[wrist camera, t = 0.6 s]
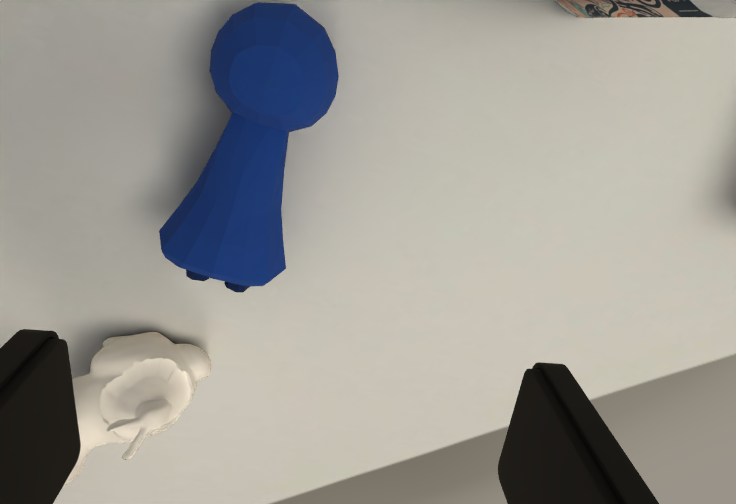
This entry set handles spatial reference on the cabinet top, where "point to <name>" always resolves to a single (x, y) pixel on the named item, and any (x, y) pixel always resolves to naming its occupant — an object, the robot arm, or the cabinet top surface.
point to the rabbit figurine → (135, 391)
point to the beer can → (650, 8)
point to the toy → (252, 144)
